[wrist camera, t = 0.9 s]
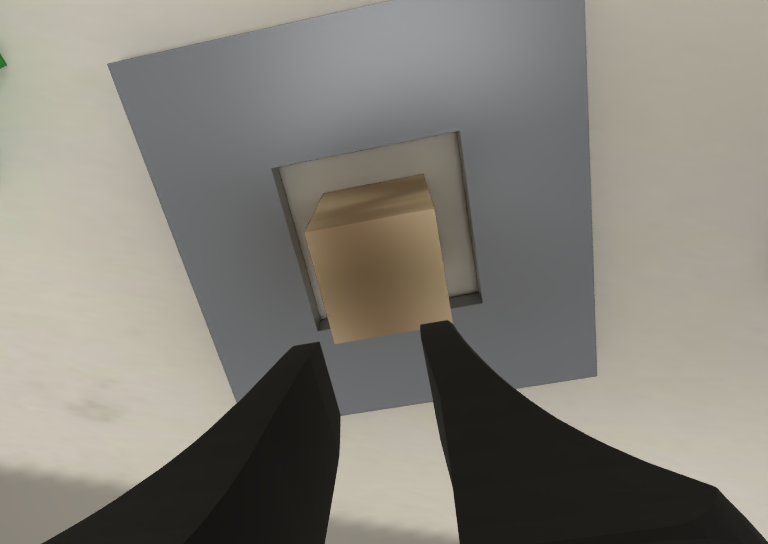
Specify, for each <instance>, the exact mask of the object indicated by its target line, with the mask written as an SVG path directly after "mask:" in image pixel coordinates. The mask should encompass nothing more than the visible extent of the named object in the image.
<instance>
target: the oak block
mask: <svg viewBox="0 0 768 544" xmlns="http://www.w3.org/2000/svg"><path fill="white" fill-rule="evenodd" d="M304 233H305V237H306V241H307V244H308V248H309V252H310V255H311V259H312V263H313V266H314V270H315V274H316V277H317V281H318V285H319V288H320V292H321V296H322V299H323V303H324V307H325V310H326V314H327V318H328V321H329V325H330V329H331V332H332V336H333V340H334V343H335V344H339V343H344V342H350V341H356V340H362V339H368V338H374V337H380V336H386V335H392V334H398V333H404V332H410V331H416V330H420V325H421V324H427V323H433V322H438V321H444V320H449V321H450V322H451V323H453V321H452V314H451V308H450V302H449V296H448V290H447V284H446V277H445V271H444V265H443V259H442V253H441V247H440V240H439V234H438V228H437V222H436V216H435V209H434V206H433V203H432V200H431V196H430V193H429V190H428V187H427V184H426V181H425V178H424V175H423V174H420V175H415V176H410V177H404V178H399V179H394V180H389V181H384V182H379V183H374V184H368V185H363V186H358V187H353V188H348V189H343V190H337V191H332V192H327V193H324V194H323V196H322V198H321V200H320V202H319V204H318V206H317V208H316V210H315V212H314V214H313V216H312V218H311V220H310V222H309V224H308V226H307V228H306V230H305V232H304Z"/></svg>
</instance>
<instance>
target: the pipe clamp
mask: <svg viewBox="0 0 768 544" xmlns="http://www.w3.org/2000/svg"><path fill="white" fill-rule="evenodd" d="M4 66H7V64H6V62H5V61H4V59H3V58H2V56H1V54H0V68H2V67H4Z"/></svg>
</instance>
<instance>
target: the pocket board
mask: <svg viewBox="0 0 768 544" xmlns="http://www.w3.org/2000/svg"><path fill="white" fill-rule="evenodd" d="M107 65H108V68H109V70H110V73H111V76H112V78H113V81H114V83H115V86H116V89H117V91H118V94H119V97H120V99H121V102H122V104H123V107H124V110H125V112H126V115H127V117H128V120H129V123H130V125H131V128H132V130H133V133H134V136H135V138H136V141H137V144H138V146H139V149H140V151H141V154H142V157H143V159H144V162H145V164H146V167H147V170H148V172H149V175H150V177H151V180H152V183H153V185H154V188H155V190H156V193H157V196H158V198H159V201H160V204H161V206H162V209H163V211H164V214H165V217H166V219H167V222H168V224H169V227H170V230H171V232H172V235H173V237H174V240H175V243H176V245H177V248H178V251H179V253H180V256H181V258H182V261H183V264H184V266H185V269H186V271H187V274H188V277H189V279H190V282H191V284H192V287H193V290H194V292H195V295H196V298H197V300H198V303H199V305H200V308H201V311H202V313H203V316H204V318H205V321H206V324H207V326H208V329H209V331H210V334H211V337H212V339H213V342H214V345H215V347H216V350H217V352H218V355H219V358H220V360H221V363H222V365H223V368H224V371H225V373H226V376H227V378H228V381H229V384H230V386H231V389H232V392H233V394H234V397H235V399H236V402H237V403H238V402H239V401H240V400H241V399H242V398H243V397H244V396H245V395H246V394H247V393H248V392H249V391H250V390H251V389H252V388H253V387H254V385H255V384H256V383H257V382H258V381H259V380H260V379H261V378H262V377H263V376H264V375H265V374H266V373H267V372H268V371H269V370H270V369H271V368H272V367H273V366H274V365H275V363H276V362H277V361H278V360H279V359H280V358H281V357H282V356H283V355H284V354H285V353H286V352H287V351H288V350H289V349H290V348H292V347H293V346H296V345H302V344H308V343H314V342H320V345H321V348H322V352H323V355H324V359H325V362H326V366H327V369H328V373H329V376H330V379H331V383H332V386H333V390H334V393H335V397H336V400H337V404H338V407H339V411H340V414H341V416H343V415H349V414H356V413H362V412H369V411H375V410H382V409H388V408H395V407H401V406H408V405H414V404H421V403H427V402H433V398H432V393H431V388H430V382H429V377H428V372H427V367H426V362H425V357H424V351H423V346H422V341H421V333H420V330H416V331H410V332H404V333H398V334H392V335H386V336H380V337H374V338H368V339H362V340H356V341H350V342H344V343H339V344H335V343H334V340H333V336H332V332H331V329H330V325H329V321H328V319H324V320H320V316H319V313H318V309H317V306H316V302H315V298H314V295H313V291H312V288H311V284H310V281H309V277H308V273H307V270H306V266H305V263H304V259H303V256H302V252H301V248H300V245H299V241H298V238H297V234H296V231H295V227H294V223H293V220H292V216H291V213H290V209H289V206H288V202H287V198H286V195H285V191H284V188H283V184H282V180H281V177H280V173H279V170H278V167H281V166H286V165H291V164H296V163H301V162H306V161H311V160H316V159H321V158H326V157H331V156H336V155H341V154H346V153H351V152H356V151H361V150H366V149H371V148H376V147H381V146H386V145H391V144H396V143H401V142H406V141H411V140H416V139H421V138H426V137H431V136H436V135H441V134H446V133H451V132H456V131H457V136H458V143H459V151H460V158H461V166H462V173H463V181H464V188H465V195H466V203H467V210H468V218H469V225H470V232H471V240H472V247H473V255H474V262H475V270H476V277H477V284H478V292H479V293H475V294H469V295H463V296H457V297H452V298H449V302H450V308H451V314H452V321H453V324H454V326H455V328H456V329H457V331H458V332H459V333H460V335H461V336H462V337H463V339H464V340H465V341H466V342H467V343H468V344H469V346H470V347H471V348H472V349H473V350H474V351H475V352H476V353H477V354H478V355H479V356H480V357H481V358H482V359H483V360H484V361H485V362H486V363H487V364H488V365H489V366H490V367H491V368H492V369H493V370H494V371H495V372H496V373H497V374H498V375H499V376H500V377H502V378H503V379H504V380H505V381H506V382H507V383H509V384H510V385H511V386H512V387H513V388H515V389H517V388H524V387H530V386H537V385H543V384H550V383H556V382H563V381H569V380H576V379H582V378H588V377H595V376H597V358H596V329H595V299H594V269H593V239H592V209H591V180H590V150H589V120H588V90H587V60H586V31H585V1H584V0H390V1H385V2H381V3H377V4H372V5H368V6H363V7H359V8H354V9H350V10H345V11H341V12H336V13H332V14H327V15H323V16H319V17H314V18H310V19H305V20H301V21H296V22H292V23H287V24H283V25H278V26H274V27H269V28H265V29H261V30H256V31H252V32H247V33H243V34H238V35H234V36H229V37H225V38H220V39H216V40H211V41H207V42H203V43H198V44H194V45H189V46H185V47H180V48H176V49H171V50H167V51H162V52H158V53H153V54H149V55H145V56H140V57H136V58H131V59H127V60H122V61H118V62H113V63H109V64H107Z"/></svg>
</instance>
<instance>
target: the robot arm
mask: <svg viewBox="0 0 768 544" xmlns="http://www.w3.org/2000/svg"><path fill="white" fill-rule="evenodd" d="M420 333H421V341H422V346H423V351H424V357H425V362H426V367H427V372H428V377H429V382H430V388H431V393H432V398H433V403H434V408H435V414H436V419H437V424H438V429H439V434H440V440H441V444H442V447H443V451H444V455H445V459H446V463H447V467H448V471H449V475H450V479H451V482H452V486H453V492H454V500H455V508H456V516H457V524H458V532H459V541H460V544H768V542H767V541H766V540H765V538H764V537H763V536H762V535H761V534H760V533H759V532H758V531H757V530H756V528H755V527H754V526H753V525H752V524H751V523H750V522H749V521H748V520H747V518H746V517H745V516H744V515H743V514H742V513H741V512H740V511H739V510H738V509H737V508H736V507H735V506H734V505H733V504H732V503H731V502H730V501H729V500H728V499H727V498H726V497H725V496H724V495H723V494H722V493H721V492H720V491H719V489H718V488H716V487H714V486H712V485H709V484H706V483H703V482H700V481H698V480H695V479H692V478H689V477H686V476H684V475H681V474H678V473H675V472H673V471H670V470H667V469H664V468H661V467H659V466H656V465H653V464H650V463H648V462H645V461H643V460H640V459H638V458H636V457H633V456H631V455H629V454H627V453H624V452H622V451H620V450H618V449H615V448H613V447H611V446H609V445H606V444H604V443H602V442H600V441H598V440H596V439H594V438H592V437H590V436H588V435H586V434H584V433H583V432H581V431H579V430H577V429H575V428H574V427H572V426H570V425H568V424H566V423H564V422H563V421H561V420H559V419H557V418H556V417H554V416H553V415H551V414H549V413H548V412H546V411H545V410H543V409H542V408H540V407H539V406H537V405H536V404H535V403H533V402H532V401H530V400H529V399H528V398H526V397H525V396H524V395H522V394H521V393H520V392H518V391H517V390H516V389H515V388H513V387H512V386H511V385H510V384H509V383H507V382H506V381H505V380H504V379H503V378H502V377H500V376H499V375H498V374H497V373H496V372H495V371H494V370H493V369H492V368H491V367H490V366H489V365H488V364H487V363H486V362H485V361H484V360H483V359H482V358H481V357H480V356H479V355H478V354H477V353H476V352H475V351H474V350H473V349H472V348H471V347H470V346H469V344H468V343H467V342H466V341H465V340H464V339H463V337H462V336H461V335H460V333H459V332H458V331H457V329H456V328H455V326H454V324H453V323H451V322H450V321H449V320H444V321H438V322H433V323H427V324H421V325H420ZM340 416H341V414H340V411H339V407H338V404H337V400H336V397H335V393H334V390H333V386H332V383H331V379H330V376H329V373H328V369H327V366H326V362H325V359H324V355H323V352H322V348H321V345H320V342H314V343H308V344H302V345H296V346H293V347H292V348H290V349H289V350H288V351H287V352H286V353H285V354H284V355H283V356H282V357H281V358H280V359H279V360H278V361H277V362H276V363H275V365H274V366H273V367H272V368H271V369H270V370H269V371H268V372H267V373H266V374H265V375H264V376H263V377H262V378H261V379H260V380H259V381H258V382H257V383H256V384H255V385H254V387H253V388H252V389H251V390H250V391H249V392H248V393H247V394H246V395H245V396H244V397H243V398H242V399H241V400H240V401H239V402H238V403H237V404H236V405H234V406H233V407H232V408H231V409H230V410H229V411H228V412H227V413H226V414H225V415H224V416H223V417H222V418H221V419H220V420H219V421H218V422H216V423H215V424H214V425H213V426H212V427H211V428H210V429H209V430H208V431H207V432H206V433H204V434H203V435H202V436H201V437H200V438H199V439H197V440H196V441H195V442H194V443H193V444H191V445H190V446H189V447H188V448H186V449H185V450H184V451H183V452H181V453H180V454H179V455H178V456H176V457H175V458H174V459H172V460H171V461H170V462H169V463H167V464H166V465H165V466H163V467H162V468H161V469H159V470H158V471H156V472H155V473H153V474H152V475H151V476H149V477H148V478H146V479H145V480H143V481H142V482H140V483H139V484H138V485H136V486H135V487H133V488H132V489H130V490H129V491H127V492H126V493H125V494H123V495H122V496H120V497H119V498H117V499H116V500H114V501H113V502H111V503H110V504H108V505H107V506H105V507H103V508H102V509H100V510H98V511H97V512H95V513H94V514H92V515H90V516H89V517H87V518H86V519H84V520H82V521H80V522H79V523H77V524H75V525H74V526H72V527H70V528H68V529H67V530H65V531H63V532H62V533H60V534H58V535H56V536H55V537H53V538H51V539H49V540H48V541H46V542H44V543H42V544H325V538H326V532H327V527H328V521H329V515H330V509H331V503H332V497H333V491H334V485H335V479H336V473H337V467H338V460H339V450H340Z"/></svg>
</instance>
